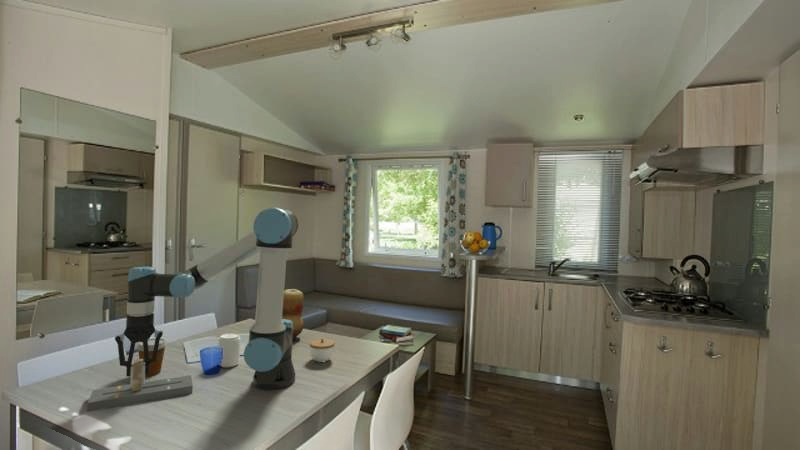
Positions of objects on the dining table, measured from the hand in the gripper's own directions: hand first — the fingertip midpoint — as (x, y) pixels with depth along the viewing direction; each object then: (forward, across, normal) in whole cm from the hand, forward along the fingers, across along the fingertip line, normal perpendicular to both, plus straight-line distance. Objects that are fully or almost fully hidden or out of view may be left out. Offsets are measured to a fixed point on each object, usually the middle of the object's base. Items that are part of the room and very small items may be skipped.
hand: (137, 384), depth 125 cm
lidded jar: (+4, -66, -7) cm, 67 cm away
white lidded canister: (+4, -30, -17) cm, 35 cm away
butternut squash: (+4, -62, -42) cm, 75 cm away
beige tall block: (+1, 0, 0) cm, 1 cm away
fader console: (+4, -2, 0) cm, 4 cm away
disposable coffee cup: (+4, -3, -20) cm, 20 cm away
